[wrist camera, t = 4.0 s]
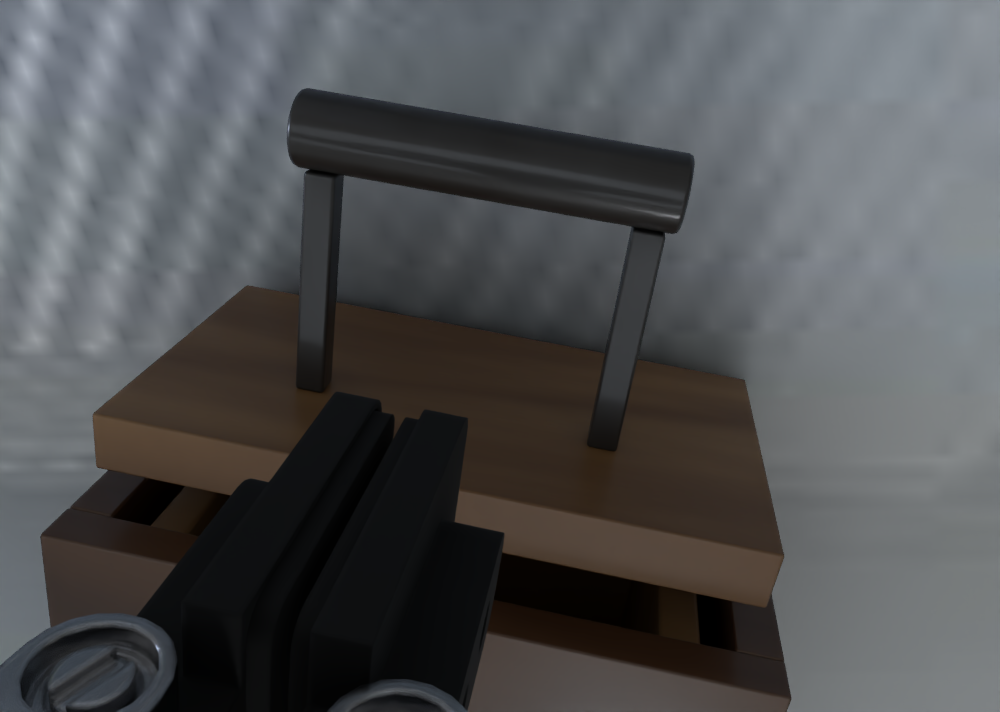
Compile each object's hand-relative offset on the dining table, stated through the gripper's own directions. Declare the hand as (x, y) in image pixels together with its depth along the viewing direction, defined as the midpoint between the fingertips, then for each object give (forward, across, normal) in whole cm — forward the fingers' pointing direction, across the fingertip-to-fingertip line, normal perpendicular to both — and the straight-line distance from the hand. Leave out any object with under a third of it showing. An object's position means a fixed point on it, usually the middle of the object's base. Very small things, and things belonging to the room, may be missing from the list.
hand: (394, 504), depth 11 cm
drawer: (+11, 0, +7) cm, 13 cm away
